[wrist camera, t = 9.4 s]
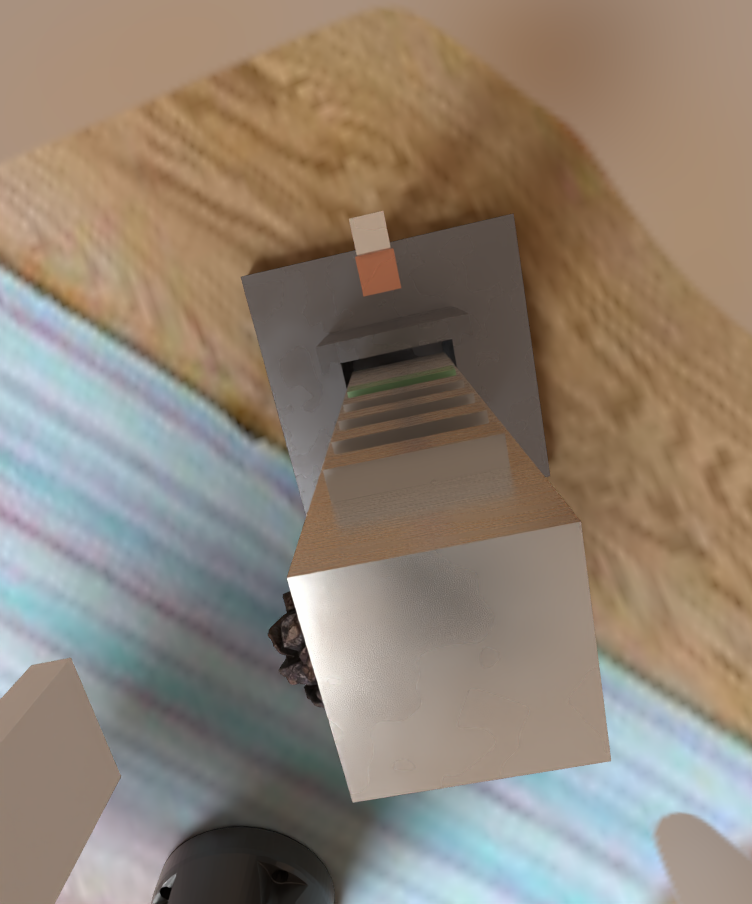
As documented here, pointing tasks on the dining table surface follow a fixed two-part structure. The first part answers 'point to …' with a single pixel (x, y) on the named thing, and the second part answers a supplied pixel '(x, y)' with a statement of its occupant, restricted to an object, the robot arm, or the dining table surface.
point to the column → (444, 594)
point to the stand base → (397, 328)
